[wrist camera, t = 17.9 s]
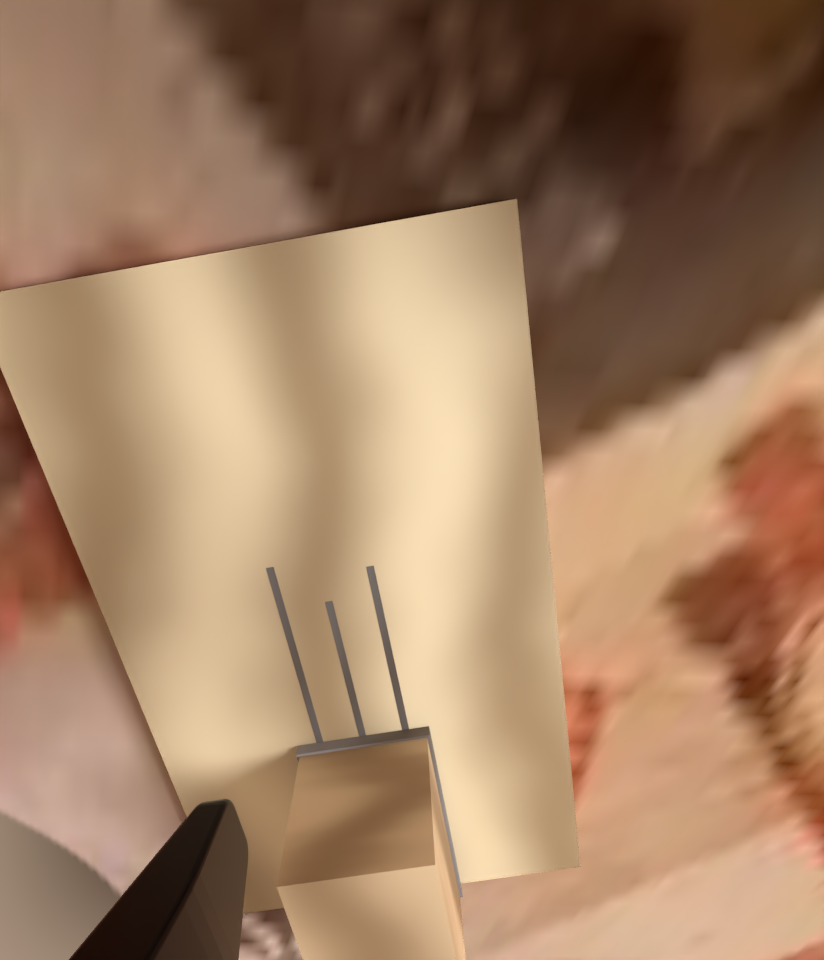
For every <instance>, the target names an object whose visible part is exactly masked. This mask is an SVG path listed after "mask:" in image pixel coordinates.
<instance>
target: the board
mask: <svg viewBox="0 0 824 960" xmlns="http://www.w3.org/2000/svg"><path fill="white" fill-rule="evenodd" d="M0 368H1V370H2V373H3V375H4V378H5V380H6V382H7V385H8V387H9V390H10V392H11V394H12V397H13V399H14V402H15V404H16V406H17V409H18V411H19V414H20V416H21V419H22V421H23V423H24V426H25V428H26V431H27V433H28V435H29V438H30V440H31V443H32V445H33V448H34V450H35V452H36V455H37V457H38V460H39V462H40V464H41V467H42V469H43V472H44V474H45V476H46V479H47V481H48V484H49V486H50V489H51V491H52V493H53V496H54V498H55V501H56V503H57V505H58V508H59V510H60V513H61V515H62V518H63V520H64V522H65V525H66V527H67V530H68V532H69V534H70V537H71V539H72V542H73V544H74V546H75V549H76V551H77V554H78V556H79V559H80V561H81V563H82V566H83V568H84V571H85V573H86V575H87V578H88V580H89V583H90V585H91V588H92V590H93V592H94V595H95V597H96V600H97V602H98V604H99V607H100V609H101V612H102V614H103V616H104V619H105V621H106V624H107V626H108V629H109V631H110V633H111V636H112V638H113V641H114V643H115V645H116V648H117V650H118V653H119V655H120V658H121V660H122V662H123V665H124V667H125V670H126V672H127V674H128V677H129V679H130V682H131V684H132V686H133V689H134V691H135V694H136V696H137V699H138V701H139V703H140V706H141V708H142V711H143V713H144V715H145V718H146V720H147V723H148V725H149V728H150V730H151V732H152V735H153V737H154V740H155V742H156V744H157V747H158V749H159V752H160V754H161V756H162V759H163V761H164V764H165V766H166V769H167V771H168V773H169V776H170V778H171V781H172V783H173V785H174V788H175V790H176V793H177V795H178V798H179V800H180V802H181V805H182V807H183V810H184V812H185V814H186V817H188V815H189V814H190V813H191V812H192V811H193V809H194V808H195V807H196V806H197V805H199V804H200V803H202V802H205V801H212V800H219V799H229V800H231V801H232V802H233V804H234V806H235V809H236V812H237V814H238V817H239V820H240V822H241V825H242V828H243V830H244V833H245V836H246V839H247V843H248V868H247V878H246V888H245V898H244V908H243V914H244V913H251V912H258V911H266V910H273V909H280V908H284V906H283V903H282V900H281V898H280V895H279V892H278V889H277V882H278V877H279V871H280V865H281V860H282V854H283V848H284V842H285V837H286V831H287V825H288V820H289V814H290V808H291V802H292V797H293V791H294V785H295V780H296V774H297V768H298V760H297V757H296V752H297V746H300V745H306V744H313V743H320V742H327V741H333V740H340V739H347V738H353V737H360V736H367V735H374V734H380V733H387V732H394V731H400V730H407V729H414V728H420V727H427V726H429V728H430V733H431V738H432V743H433V748H434V753H435V758H436V763H437V768H438V773H439V778H440V783H441V788H442V793H443V798H444V802H445V807H446V812H447V817H448V822H449V827H450V832H451V837H452V842H453V847H454V852H455V857H456V862H457V867H458V872H459V877H460V882H461V883H468V882H475V881H482V880H490V879H497V878H504V877H511V876H518V875H526V874H533V873H540V872H547V871H555V870H562V869H569V868H576V867H580V857H579V846H578V836H577V825H576V815H575V804H574V794H573V783H572V773H571V762H570V751H569V741H568V730H567V720H566V709H565V699H564V688H563V678H562V667H561V657H560V646H559V636H558V625H557V615H556V604H555V594H554V583H553V573H552V562H551V552H550V541H549V531H548V520H547V510H546V499H545V489H544V478H543V468H542V457H541V446H540V436H539V425H538V415H537V404H536V394H535V383H534V373H533V362H532V352H531V341H530V331H529V320H528V310H527V299H526V289H525V278H524V268H523V257H522V247H521V236H520V226H519V215H518V205H517V199H513V200H507V201H501V202H495V203H490V204H484V205H479V206H473V207H468V208H462V209H456V210H451V211H445V212H440V213H434V214H429V215H423V216H417V217H412V218H406V219H401V220H395V221H390V222H384V223H378V224H373V225H367V226H362V227H356V228H351V229H345V230H339V231H334V232H328V233H323V234H317V235H312V236H306V237H300V238H295V239H289V240H284V241H278V242H273V243H267V244H261V245H256V246H250V247H245V248H239V249H234V250H228V251H222V252H217V253H211V254H206V255H200V256H195V257H189V258H183V259H178V260H172V261H167V262H161V263H156V264H150V265H145V266H139V267H133V268H128V269H122V270H117V271H111V272H106V273H100V274H94V275H89V276H83V277H78V278H72V279H67V280H61V281H55V282H50V283H44V284H39V285H33V286H28V287H22V288H16V289H11V290H5V291H0Z"/></svg>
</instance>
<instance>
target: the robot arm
mask: <svg viewBox="0 0 824 960" xmlns="http://www.w3.org/2000/svg"><path fill="white" fill-rule="evenodd" d="M247 868H248V843H247V839H246V836H245V833H244V830H243V828H242V825H241V822H240V820H239V817H238V814H237V812H236V809H235V806H234V804H233V802H232V801H231V800H229V799H219V800H212V801H205V802H202V803H200V804H199V805H197V806H196V807H195V808H194V809H193V811H192V812H191V813H190V814H189V815H188V817H187V818H186V819H185V820H184V821H183V823H182V824H181V825H180V826H179V827H178V829H177V830H176V831H175V832H174V833H173V835H172V836H171V837H170V838H169V840H168V841H167V842H166V843H165V844H164V846H163V847H162V848H161V849H160V850H159V852H158V853H157V854H156V855H155V856H154V858H153V859H152V860H151V861H150V862H149V864H148V865H147V866H146V867H145V868H144V870H143V871H142V872H141V873H140V874H139V876H138V877H137V878H136V879H135V880H134V882H133V883H132V884H131V885H130V886H129V888H128V889H127V890H126V891H125V892H124V894H123V895H122V896H121V897H120V899H119V900H118V901H117V902H116V903H115V905H114V906H113V907H112V908H111V909H110V911H109V912H108V913H107V914H106V915H105V917H104V918H103V919H102V920H101V921H100V923H99V924H98V925H97V926H96V927H95V929H94V930H93V931H92V932H91V933H90V935H89V936H88V937H87V938H86V940H85V941H84V942H83V943H82V944H81V945H80V947H79V948H78V949H77V950H76V952H75V953H74V954H73V955H72V956H71V958H70V959H69V960H238V958H239V948H240V938H241V928H242V918H243V908H244V898H245V888H246V878H247Z"/></svg>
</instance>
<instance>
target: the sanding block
mask: <svg viewBox="0 0 824 960" xmlns="http://www.w3.org/2000/svg"><path fill="white" fill-rule="evenodd" d="M296 757H297V760H298V768H297V774H296V780H295V785H294V791H293V797H292V802H291V808H290V814H289V820H288V825H287V831H286V837H285V842H284V848H283V854H282V860H281V865H280V871H279V877H278V882H277V889H278V892H279V895H280V898H281V900H282V903H283V906H284V909H285V911H286V914H287V917H288V920H289V922H290V925H291V928H292V931H293V933H294V936H295V939H296V942H297V944H298V947H299V950H300V953H301V955H302V958H303V960H466V956H465V946H464V936H463V925H462V915H461V904H460V897H463V896H462V887H461V882H460V877H459V872H458V867H457V862H456V857H455V852H454V847H453V842H452V837H451V832H450V827H449V822H448V817H447V812H446V807H445V802H444V798H443V793H442V788H441V783H440V778H439V773H438V768H437V763H436V758H435V753H434V748H433V743H432V738H431V733H430V728H429V726H427V727H420V728H414V729H407V730H400V731H394V732H387V733H380V734H374V735H367V736H360V737H353V738H347V739H340V740H333V741H327V742H320V743H313V744H306V745H300V746H297V752H296Z"/></svg>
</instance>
